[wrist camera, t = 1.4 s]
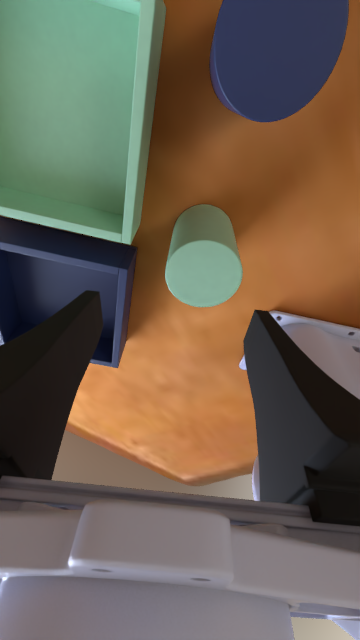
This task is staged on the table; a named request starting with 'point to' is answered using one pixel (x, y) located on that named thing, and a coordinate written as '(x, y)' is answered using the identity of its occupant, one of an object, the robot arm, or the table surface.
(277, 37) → the navy peg
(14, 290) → the navy tub
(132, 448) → the table surface
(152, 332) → the table surface
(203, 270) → the mint peg
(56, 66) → the mint tub
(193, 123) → the table surface
